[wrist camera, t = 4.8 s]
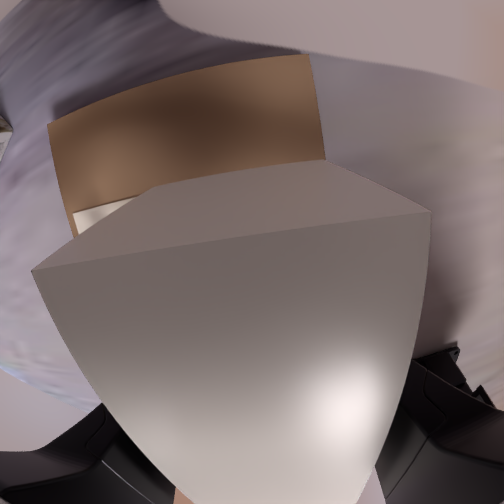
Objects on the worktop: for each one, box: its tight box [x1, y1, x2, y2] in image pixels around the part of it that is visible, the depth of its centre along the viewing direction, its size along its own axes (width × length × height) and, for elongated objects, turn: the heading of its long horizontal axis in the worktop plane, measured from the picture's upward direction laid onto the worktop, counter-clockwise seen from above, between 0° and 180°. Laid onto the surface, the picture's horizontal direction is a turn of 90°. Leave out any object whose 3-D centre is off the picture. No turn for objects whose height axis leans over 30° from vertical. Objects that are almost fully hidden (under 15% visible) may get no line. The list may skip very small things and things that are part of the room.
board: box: [47, 54, 325, 238], centre depth 18 cm, size 20×16×2 cm
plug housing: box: [31, 160, 432, 504], centre depth 7 cm, size 10×5×5 cm, turn 9°
